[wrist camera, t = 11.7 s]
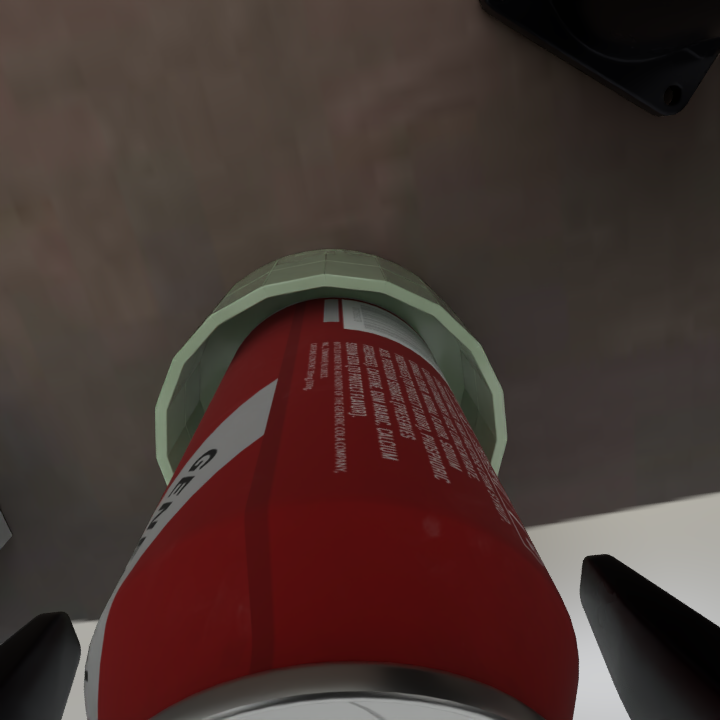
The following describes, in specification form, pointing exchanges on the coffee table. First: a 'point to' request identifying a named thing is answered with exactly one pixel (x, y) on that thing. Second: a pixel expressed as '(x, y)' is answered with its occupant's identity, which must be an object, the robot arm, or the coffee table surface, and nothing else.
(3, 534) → the perfume bottle
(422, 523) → the soda can
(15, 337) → the coffee table surface
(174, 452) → the crock
